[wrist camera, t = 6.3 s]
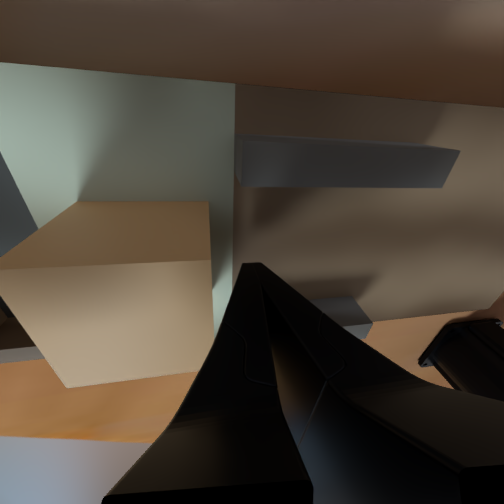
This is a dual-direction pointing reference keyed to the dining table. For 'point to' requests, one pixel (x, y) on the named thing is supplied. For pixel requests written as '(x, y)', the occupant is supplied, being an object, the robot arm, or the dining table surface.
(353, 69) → the dining table surface
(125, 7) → the dining table surface
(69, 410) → the dining table surface
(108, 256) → the block
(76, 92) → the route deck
